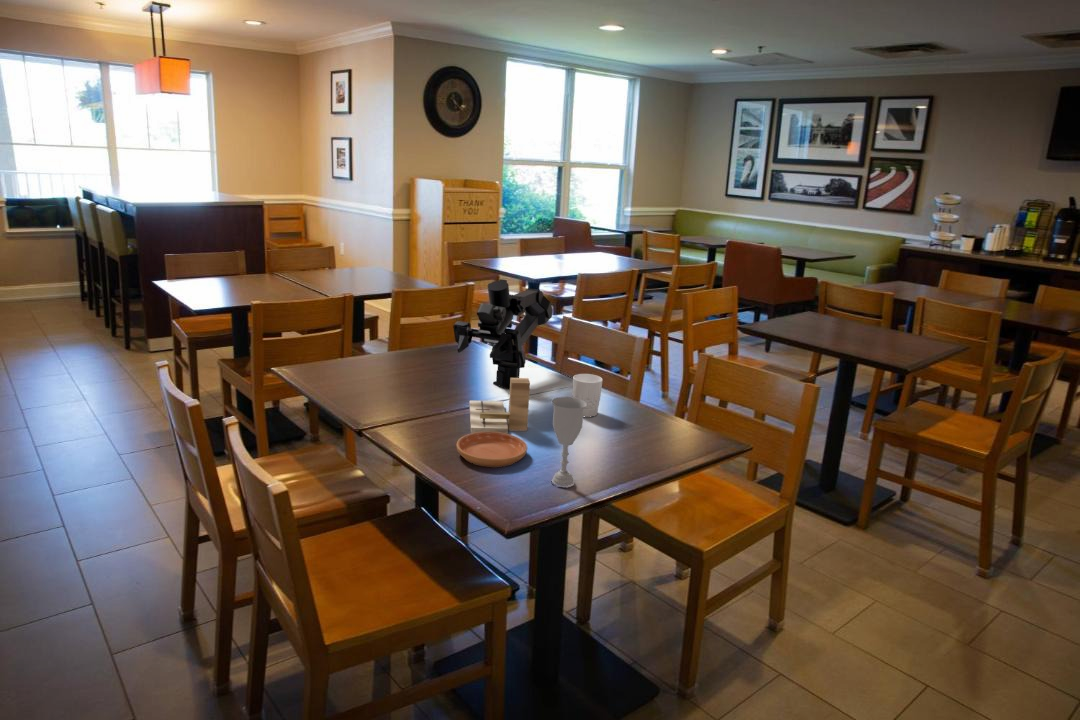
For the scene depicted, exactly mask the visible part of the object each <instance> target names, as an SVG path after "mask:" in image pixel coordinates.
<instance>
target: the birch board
mask: <svg viewBox="0 0 1080 720" xmlns="http://www.w3.org/2000/svg"><path fill="white" fill-rule="evenodd" d="M504 405H505V404H504V401H503V400H469V406H468V407H469V418H470V419H469V420H470V421H469V422H470V423H469V424H470V434H471V433H476V432H500V433H505V434H509V427H508V419H485V420H483V419H480V412H490V413H506V411H505V406H504Z"/></svg>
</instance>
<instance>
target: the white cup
mask: <svg viewBox="0 0 1080 720" xmlns="http://www.w3.org/2000/svg"><path fill="white" fill-rule="evenodd" d="M602 385H603V378H602V377H601V376H599V375H596V374H592V373H578V374H575V375H573V377H572V398H577V399H580V400H583V401H585V402H586V404H587V405H586V407H585V408H584V411H583V416H585V417H584V418H591V417H590V416H594V417H596V416H598V412H599V406H600V400H601V395H602V394H601V393H602V388H603V387H602ZM595 415H596V416H595ZM587 416H588V417H587Z"/></svg>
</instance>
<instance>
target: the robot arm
mask: <svg viewBox="0 0 1080 720" xmlns="http://www.w3.org/2000/svg"><path fill="white" fill-rule="evenodd" d="M487 292H488V293H487V294H488V301H489V303H480V305H479V307H478V309H477V312H476V315H477V318H478V322H477V327H479V328H474V327H472V326H471V325H472V324H471V323H470V322H467V321H462V320H461V321H460V320H457V321H456V322H455V323H454V324H453V325H452V328H453V333H454V341H455V343H456V344H458V345H457V353H461V352H463V351H465V349H467V348H469V346H470V345H469V344H471V343H472V341H473V340H472V339H473V338H477V339H481V342H483V343H488V344H493V345H492V348H491V352H490V353H489V358H490V359H491V360H492V365H494V366H495V365H496V366H497V370H496V375H495V376H496V377H495V378H496V379H495V380H496V381H495V380H494V381H493V383H492V384H493V385H496V386H498V387H500V388H503V389H507V390H510V378H520V372H521V370H520V369H522V368H523V369H525V365H526V362H527V361H526V359H527V358H526V355H525V353H524V351H523V346H524V345H525V343H526V342H527V341H528V339H529V338H530V337H531V335H532V334H533V332H534V331H535V330H536V329H537V328H538V327H539V326H543V325H545V324H547V322H549V321H550V320H551V319H552V316H553V315H554V314H553V312H554V310H553V306H552V303H551V301H550V300H549V299H548V298H547V297H546V296H544V293H543V291H542V290H540V289H535V288H527V289H525V290H523V291H519V292H517V293H515V294H511V293H510V287H509V283H508V280H507V279H503V278H500V279H499V280H495V281H492V282H488V284H487ZM523 313H524V317H523V318H522V319H521V320H520V321H519V323H518V325H516V327H514V328H513V319H514V316H517V317H520V316H521V315H523Z"/></svg>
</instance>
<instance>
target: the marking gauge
mask: <svg viewBox="0 0 1080 720" xmlns="http://www.w3.org/2000/svg"><path fill="white" fill-rule="evenodd" d="M530 387H531V382H530V378H528V377H519V378H510V389H509V398H508V412H505V413H490V412H480V419H483V420H485V419H506V420H507V425H508V432H509V431H510V432H511V431H516V432H517V431H521V432H523V431H524V432H525V431H526V432H527V431H528V423H529V422H528V419H529V405H530V392H531V391H530V390H531V389H530Z"/></svg>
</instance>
